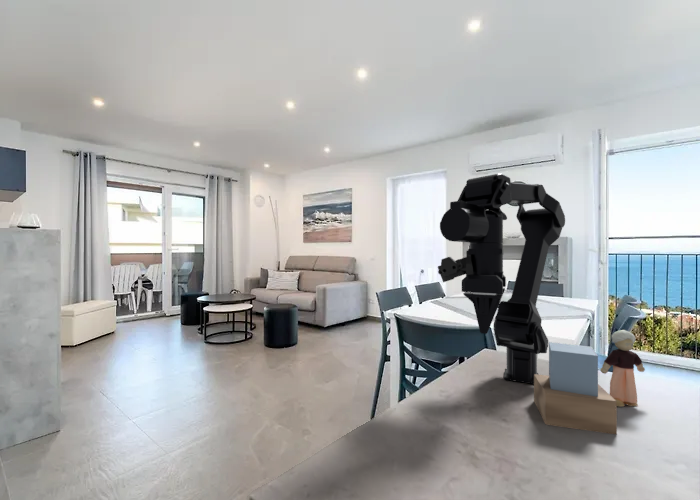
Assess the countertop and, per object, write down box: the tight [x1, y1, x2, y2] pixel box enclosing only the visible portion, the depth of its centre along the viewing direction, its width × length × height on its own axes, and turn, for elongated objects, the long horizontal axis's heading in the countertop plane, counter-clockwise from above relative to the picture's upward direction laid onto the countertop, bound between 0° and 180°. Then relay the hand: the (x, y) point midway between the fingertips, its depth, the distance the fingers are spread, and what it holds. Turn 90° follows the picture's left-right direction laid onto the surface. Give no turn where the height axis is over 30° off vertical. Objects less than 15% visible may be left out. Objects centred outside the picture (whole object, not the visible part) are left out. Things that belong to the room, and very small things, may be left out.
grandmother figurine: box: [599, 329, 646, 407], centre depth 60 cm, size 8×4×13 cm, turn 105°
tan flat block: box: [533, 374, 618, 435], centre depth 55 cm, size 9×9×5 cm
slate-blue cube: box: [548, 341, 599, 397], centre depth 55 cm, size 6×6×6 cm
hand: (485, 328), depth 64 cm, fingers open, 9 cm apart
